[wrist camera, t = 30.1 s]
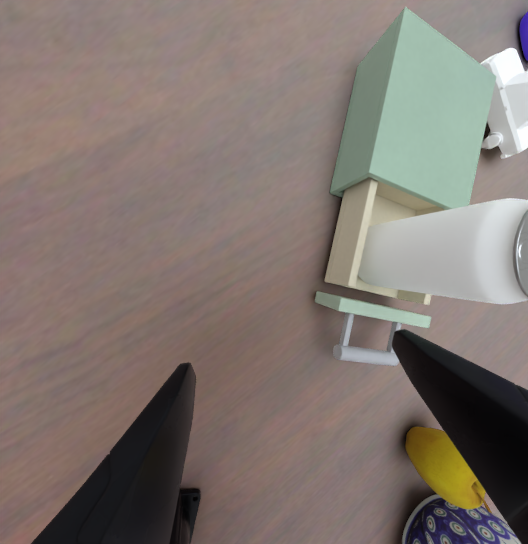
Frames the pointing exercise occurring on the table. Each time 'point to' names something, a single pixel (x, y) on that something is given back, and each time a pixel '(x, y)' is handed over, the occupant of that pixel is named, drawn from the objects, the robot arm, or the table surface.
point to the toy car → (508, 104)
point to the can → (453, 253)
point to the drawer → (347, 256)
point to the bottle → (524, 35)
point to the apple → (444, 468)
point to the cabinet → (416, 116)
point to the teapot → (455, 525)
